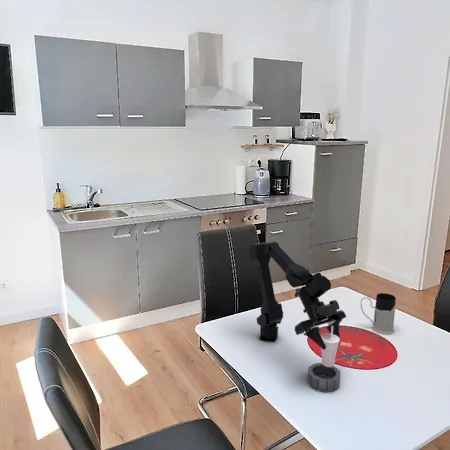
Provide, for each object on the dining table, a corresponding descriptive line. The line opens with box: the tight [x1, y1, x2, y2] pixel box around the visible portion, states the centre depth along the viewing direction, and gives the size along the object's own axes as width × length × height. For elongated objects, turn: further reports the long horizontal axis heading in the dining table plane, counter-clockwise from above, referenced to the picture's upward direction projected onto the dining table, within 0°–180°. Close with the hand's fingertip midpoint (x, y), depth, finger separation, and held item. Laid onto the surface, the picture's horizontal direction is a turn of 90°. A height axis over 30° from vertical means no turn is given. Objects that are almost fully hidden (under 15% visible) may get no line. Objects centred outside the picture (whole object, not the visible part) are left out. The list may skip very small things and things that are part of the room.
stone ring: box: [306, 362, 341, 393], centre depth 135 cm, size 10×10×4 cm
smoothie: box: [320, 326, 341, 367], centre depth 134 cm, size 6×6×14 cm
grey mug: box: [360, 293, 397, 336], centre depth 171 cm, size 9×14×15 cm, turn 73°
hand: (332, 346), depth 132 cm, fingers closed on smoothie, 6 cm apart
